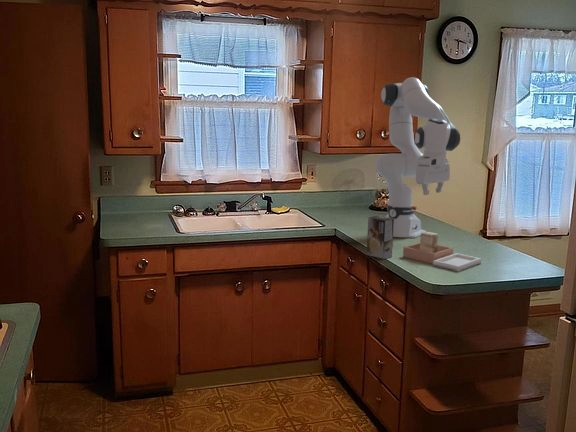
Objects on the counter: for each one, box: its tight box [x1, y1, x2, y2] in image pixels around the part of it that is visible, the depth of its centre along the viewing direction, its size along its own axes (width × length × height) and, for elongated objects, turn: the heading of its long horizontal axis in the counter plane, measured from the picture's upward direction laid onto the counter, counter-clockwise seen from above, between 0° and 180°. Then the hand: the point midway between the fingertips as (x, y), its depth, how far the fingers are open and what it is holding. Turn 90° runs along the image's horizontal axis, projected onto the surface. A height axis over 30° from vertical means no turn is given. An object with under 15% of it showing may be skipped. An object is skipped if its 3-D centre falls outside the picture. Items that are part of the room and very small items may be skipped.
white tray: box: [432, 252, 482, 272], centre depth 236 cm, size 18×11×2 cm, turn 135°
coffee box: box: [366, 215, 394, 260], centre depth 245 cm, size 9×6×16 cm
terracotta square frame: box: [402, 242, 454, 264], centre depth 246 cm, size 15×15×4 cm
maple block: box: [419, 231, 439, 253], centre depth 245 cm, size 5×5×10 cm
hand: (432, 193), depth 241 cm, fingers open, 8 cm apart
